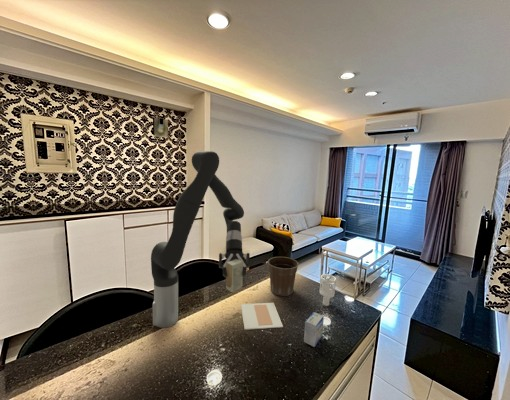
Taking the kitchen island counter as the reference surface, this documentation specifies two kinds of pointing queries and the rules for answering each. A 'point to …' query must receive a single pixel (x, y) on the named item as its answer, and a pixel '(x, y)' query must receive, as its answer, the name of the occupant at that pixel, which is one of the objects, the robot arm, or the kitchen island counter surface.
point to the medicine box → (313, 329)
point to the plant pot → (282, 275)
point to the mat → (260, 316)
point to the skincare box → (234, 275)
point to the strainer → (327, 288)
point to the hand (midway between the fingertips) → (234, 276)
